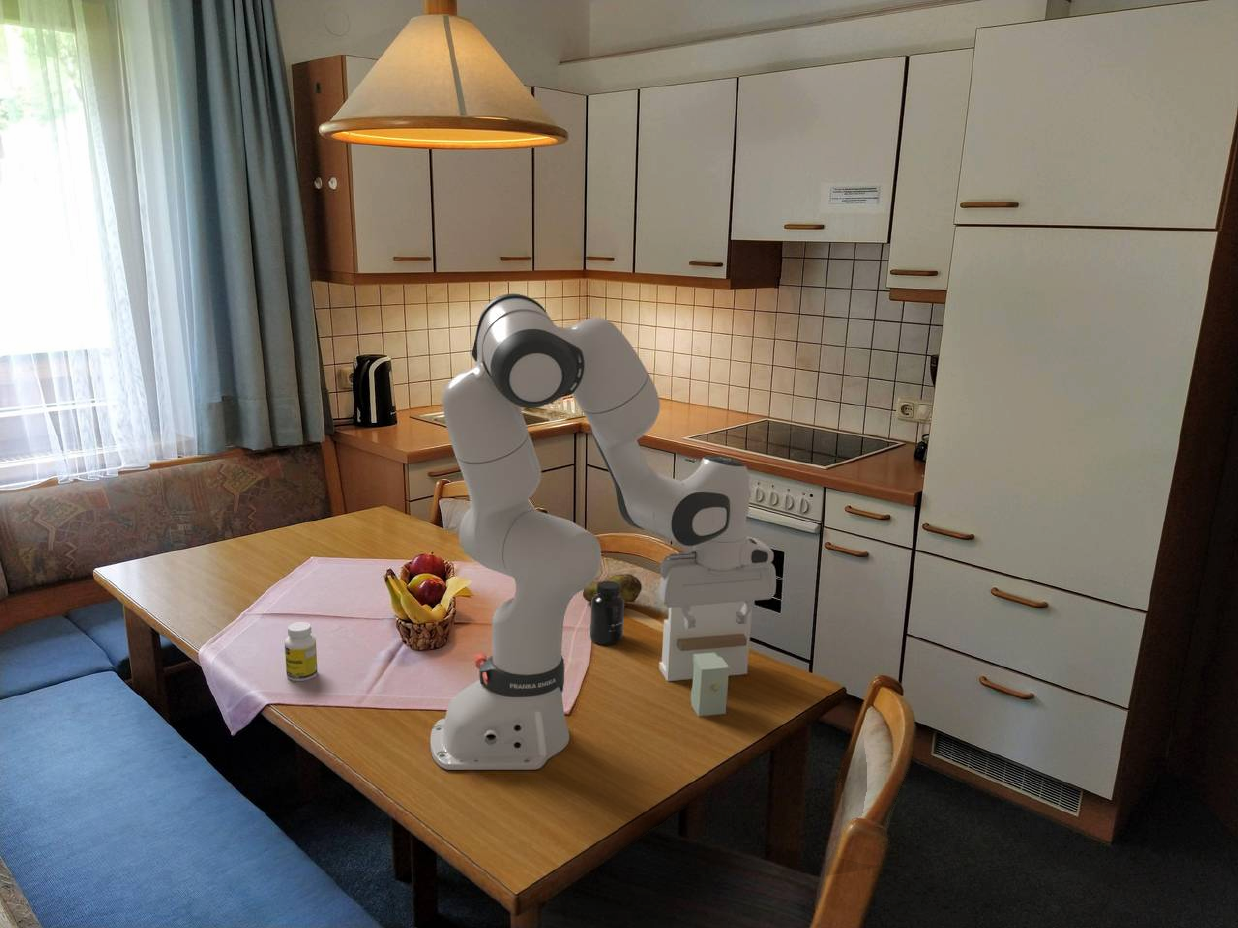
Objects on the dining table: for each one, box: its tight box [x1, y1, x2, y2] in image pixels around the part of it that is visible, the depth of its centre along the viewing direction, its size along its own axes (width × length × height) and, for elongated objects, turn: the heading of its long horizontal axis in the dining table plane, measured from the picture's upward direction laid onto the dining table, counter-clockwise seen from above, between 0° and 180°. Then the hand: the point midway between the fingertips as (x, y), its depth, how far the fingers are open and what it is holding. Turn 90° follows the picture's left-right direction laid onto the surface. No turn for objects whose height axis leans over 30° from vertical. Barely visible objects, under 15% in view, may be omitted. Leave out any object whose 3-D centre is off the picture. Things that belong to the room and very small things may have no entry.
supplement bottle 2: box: [589, 580, 625, 646], centre depth 183 cm, size 7×7×12 cm
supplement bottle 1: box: [284, 621, 318, 682], centre depth 164 cm, size 5×5×10 cm
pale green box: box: [690, 652, 730, 717], centre depth 158 cm, size 5×7×9 cm
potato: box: [582, 573, 643, 604], centre depth 200 cm, size 8×13×8 cm, turn 54°
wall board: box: [658, 602, 753, 682], centre depth 170 cm, size 16×8×16 cm, turn 105°
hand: (715, 624), depth 155 cm, fingers open, 8 cm apart
